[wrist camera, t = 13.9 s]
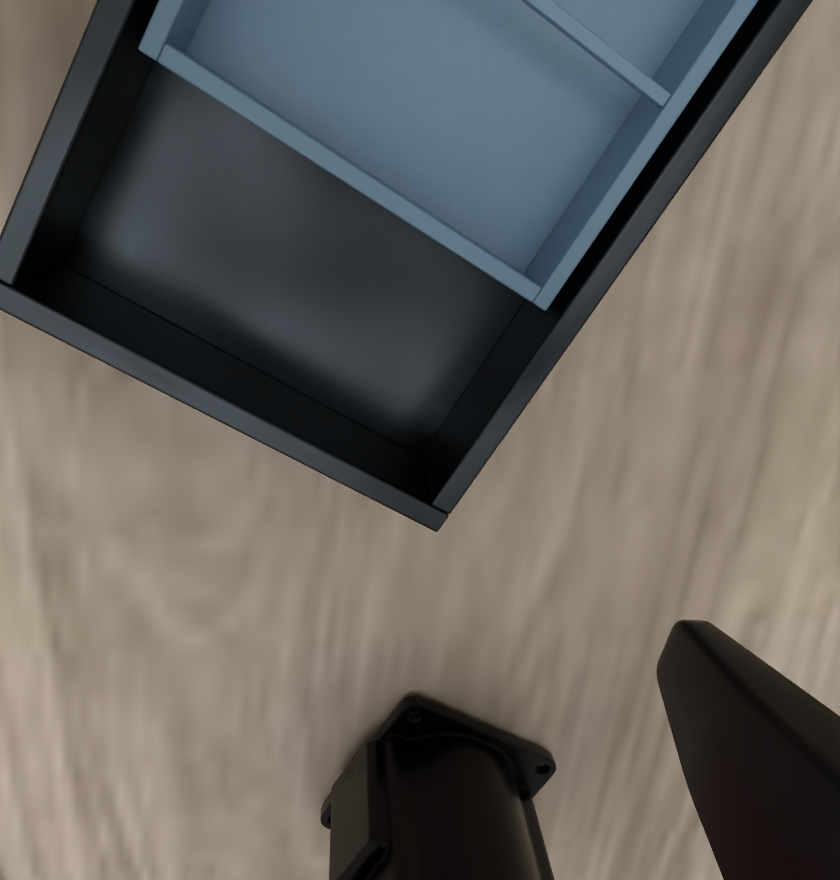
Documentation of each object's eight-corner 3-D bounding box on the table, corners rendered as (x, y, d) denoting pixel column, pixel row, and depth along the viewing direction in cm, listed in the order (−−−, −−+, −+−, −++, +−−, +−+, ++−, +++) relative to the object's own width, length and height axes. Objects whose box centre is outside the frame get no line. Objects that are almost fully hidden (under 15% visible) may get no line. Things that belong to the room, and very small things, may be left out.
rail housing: (424, 475, 22) (437, 533, 19) (38, 269, 19) (-27, 297, 15) (807, -89, 17) (914, -141, 14) (375, -501, 14) (382, -696, 10)
